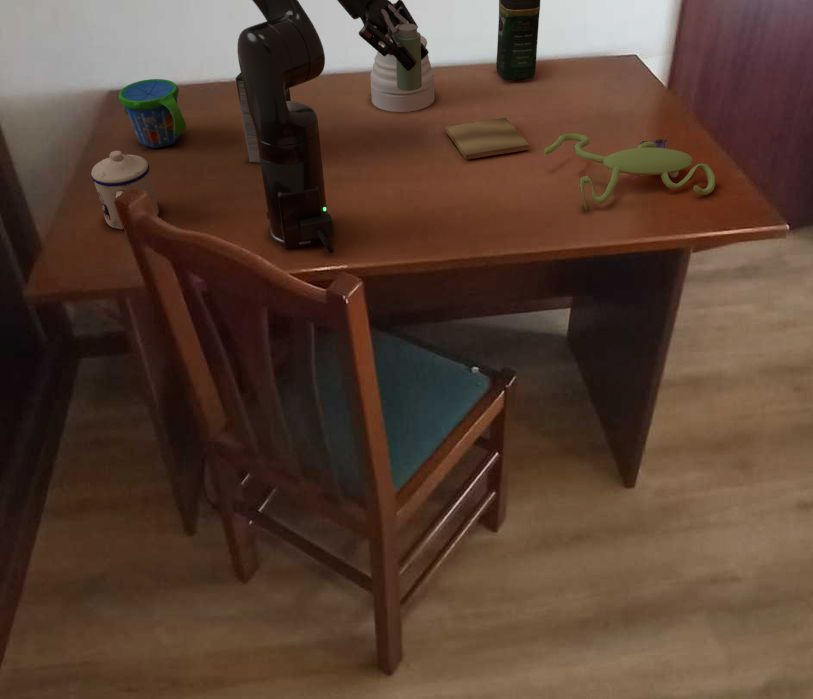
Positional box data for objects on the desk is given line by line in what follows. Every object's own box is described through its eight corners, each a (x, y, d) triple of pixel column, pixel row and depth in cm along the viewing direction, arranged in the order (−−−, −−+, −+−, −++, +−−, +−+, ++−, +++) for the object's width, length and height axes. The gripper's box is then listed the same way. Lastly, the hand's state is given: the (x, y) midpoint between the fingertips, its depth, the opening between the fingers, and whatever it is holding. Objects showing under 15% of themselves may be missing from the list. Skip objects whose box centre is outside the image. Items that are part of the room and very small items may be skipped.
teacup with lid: (107, 206, 147) (88, 143, 140) (161, 200, 148) (146, 137, 141) (100, 244, 138) (80, 178, 130) (158, 237, 139) (142, 171, 132)
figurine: (536, 161, 155) (538, 132, 151) (680, 146, 157) (685, 117, 154) (566, 214, 140) (569, 183, 137) (723, 196, 143) (730, 166, 139)
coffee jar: (539, 81, 181) (545, -10, 170) (502, 84, 181) (505, -8, 169) (528, 64, 189) (534, -25, 177) (493, 67, 188) (496, -23, 176)
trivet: (528, 151, 158) (529, 144, 157) (465, 161, 155) (465, 154, 154) (505, 124, 167) (505, 117, 166) (445, 133, 164) (445, 126, 163)
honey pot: (423, 115, 171) (421, 22, 159) (362, 108, 174) (356, 17, 163) (442, 89, 180) (441, 0, 169) (383, 83, 183) (379, -5, 172)
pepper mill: (424, 88, 153) (423, 29, 146) (400, 92, 152) (398, 32, 146) (418, 79, 156) (416, 21, 150) (394, 82, 155) (391, 24, 149)
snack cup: (114, 137, 167) (101, 86, 161) (161, 119, 173) (150, 70, 166) (157, 163, 159) (145, 110, 152) (206, 143, 164) (196, 92, 158)
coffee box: (264, 140, 165) (252, 56, 154) (297, 142, 163) (287, 58, 153) (248, 162, 158) (234, 77, 147) (281, 165, 157) (270, 79, 146)
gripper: (358, -15, 155) (422, 60, 158) (319, 10, 145) (388, 90, 148) (383, -44, 149) (448, 34, 153) (344, -20, 140) (415, 64, 143)
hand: (418, 61), depth 151 cm, fingers closed on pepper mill, 4 cm apart
